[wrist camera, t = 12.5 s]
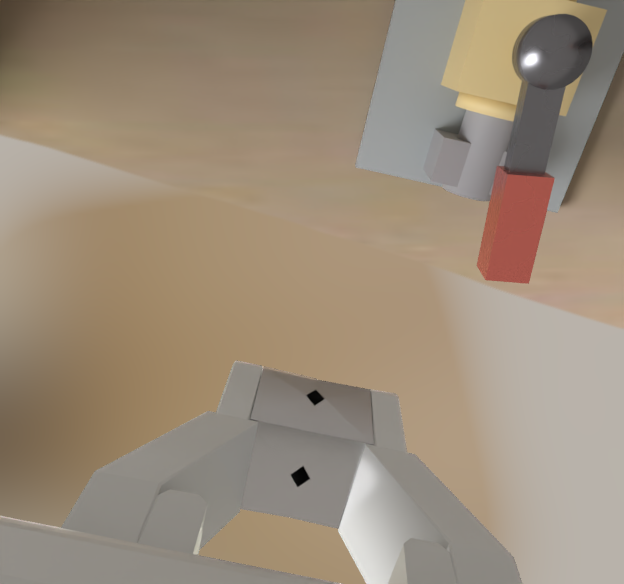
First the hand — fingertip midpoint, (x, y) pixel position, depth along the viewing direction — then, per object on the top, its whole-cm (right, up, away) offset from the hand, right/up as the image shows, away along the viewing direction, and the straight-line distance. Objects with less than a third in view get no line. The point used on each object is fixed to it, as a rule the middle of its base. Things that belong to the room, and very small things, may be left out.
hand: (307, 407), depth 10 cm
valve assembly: (+13, +19, +29) cm, 37 cm away
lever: (+12, +10, +22) cm, 27 cm away
